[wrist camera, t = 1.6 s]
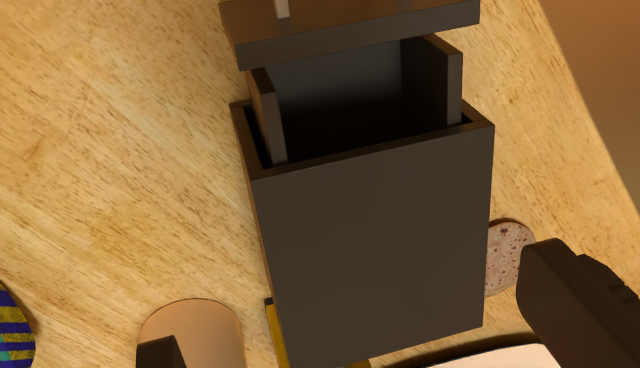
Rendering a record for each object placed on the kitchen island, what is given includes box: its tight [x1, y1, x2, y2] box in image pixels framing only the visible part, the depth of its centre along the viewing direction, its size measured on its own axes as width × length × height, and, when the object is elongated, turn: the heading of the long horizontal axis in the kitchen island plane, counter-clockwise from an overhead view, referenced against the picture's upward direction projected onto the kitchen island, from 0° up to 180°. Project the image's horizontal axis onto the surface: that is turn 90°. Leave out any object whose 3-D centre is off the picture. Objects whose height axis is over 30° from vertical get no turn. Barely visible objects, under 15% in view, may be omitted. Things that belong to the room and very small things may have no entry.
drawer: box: [218, 0, 480, 170], centre depth 30 cm, size 18×11×8 cm, turn 7°
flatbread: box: [484, 222, 536, 298], centre depth 46 cm, size 8×8×1 cm
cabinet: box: [229, 99, 495, 368], centre depth 35 cm, size 15×13×10 cm
